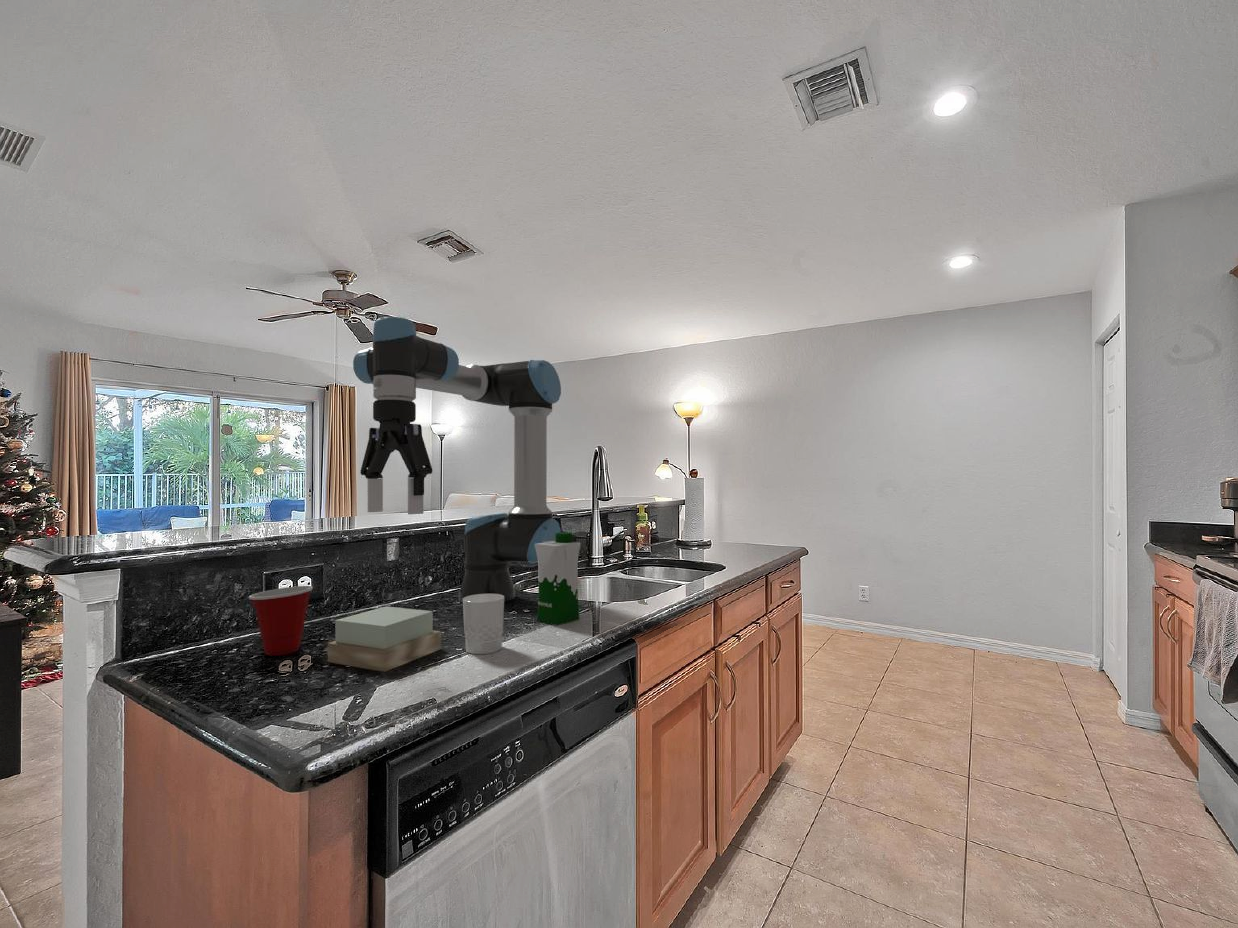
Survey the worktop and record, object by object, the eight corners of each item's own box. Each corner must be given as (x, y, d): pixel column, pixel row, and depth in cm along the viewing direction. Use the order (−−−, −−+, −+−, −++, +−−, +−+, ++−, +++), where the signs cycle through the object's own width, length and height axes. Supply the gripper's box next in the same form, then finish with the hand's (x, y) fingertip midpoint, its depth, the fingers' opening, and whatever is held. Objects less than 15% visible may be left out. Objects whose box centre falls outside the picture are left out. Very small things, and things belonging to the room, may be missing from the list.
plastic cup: (272, 642, 116) (273, 583, 116) (324, 643, 115) (324, 583, 115) (233, 660, 105) (234, 594, 105) (290, 660, 104) (290, 595, 105)
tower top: (385, 626, 115) (385, 606, 115) (432, 631, 110) (432, 611, 110) (335, 642, 104) (335, 620, 104) (384, 649, 99) (384, 626, 99)
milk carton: (585, 619, 133) (584, 533, 133) (556, 627, 126) (555, 536, 126) (559, 613, 138) (558, 531, 139) (530, 620, 132) (530, 534, 132)
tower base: (387, 643, 116) (387, 624, 116) (441, 651, 111) (440, 631, 111) (327, 665, 103) (327, 642, 104) (384, 675, 98) (384, 651, 98)
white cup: (490, 641, 116) (490, 591, 116) (512, 649, 110) (512, 597, 110) (455, 649, 110) (455, 597, 110) (476, 658, 104) (476, 603, 105)
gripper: (341, 404, 112) (341, 512, 111) (415, 392, 97) (415, 516, 96) (377, 408, 118) (377, 510, 117) (452, 396, 103) (452, 513, 102)
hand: (394, 513), depth 107 cm, fingers open, 13 cm apart
